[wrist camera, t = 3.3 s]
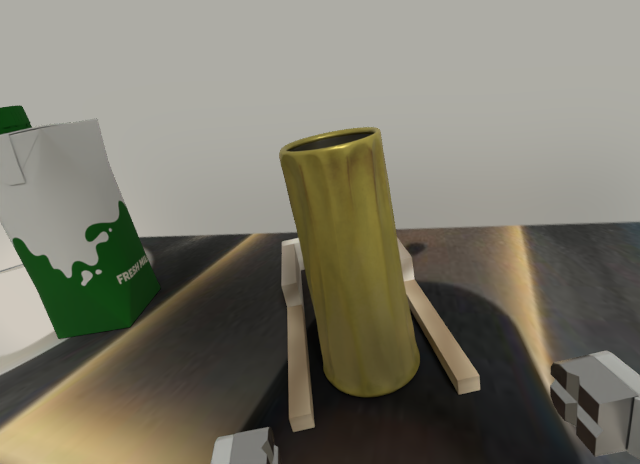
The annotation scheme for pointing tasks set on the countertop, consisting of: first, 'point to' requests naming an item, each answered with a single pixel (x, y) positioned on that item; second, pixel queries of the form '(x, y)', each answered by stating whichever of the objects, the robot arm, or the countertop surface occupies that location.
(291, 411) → the frame
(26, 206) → the milk carton
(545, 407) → the countertop surface
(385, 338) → the vase
